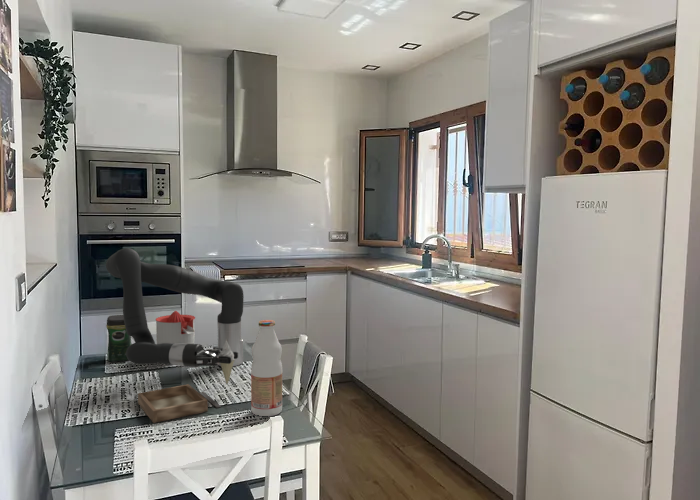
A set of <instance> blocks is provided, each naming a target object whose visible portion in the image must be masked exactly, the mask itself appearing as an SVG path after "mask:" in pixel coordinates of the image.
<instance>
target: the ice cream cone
mask: <svg viewBox="0 0 700 500" xmlns="http://www.w3.org/2000/svg"><path fill="white" fill-rule="evenodd" d="M220 356H230V357H231V358H232V362H231V363H230V364H226V363H220V364H221V366H220V367H221V370H222V374H223V376H224V377H223V378H224V381H225V385H228V384H229V382H230V378H231V375H232V374H231V373H232V370H233V368H234V366H233V363H234V360H235V359H234V354H233V352H232V351H231V350H230V346H229V345H228V342H227V340H226V341H225V344H224V346H223V349H222V352H221V353H220Z"/></svg>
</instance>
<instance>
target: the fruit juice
mask: <svg viewBox="0 0 700 500" xmlns="http://www.w3.org/2000/svg"><path fill="white" fill-rule="evenodd" d="M258 327H259V331H258V332H257V335H256V339H255V341H254V343H253V345H252V347H251V356H252V363H251V367H250V368H251V369H250V370H251V371H250V378H251V379H250V380H251V381H250V387H251V388H250V389H251V391H250V393H251V394H250V397H251V398H250V400H251V401H250V404H251V406H250V408H251V413H252V414H253V415H254V414H255V416H257V415H259V416H258V417H262V416H268V417H272V416H273V417H274V416H277V415H279V414H280V413H281V412H282V411H283V410H282V409H283V363H282V360H281V356H282V352H283V348H282V344H281V343H280V340H279V339H278V336H277V334H276V331H275V327H276V321H275V320H273V319H263V320H262V319H261V320H259V321H258Z"/></svg>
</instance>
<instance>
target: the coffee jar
mask: <svg viewBox="0 0 700 500" xmlns="http://www.w3.org/2000/svg"><path fill="white" fill-rule="evenodd" d="M105 327H106V330H107V334H108V335H107V337H108V342H107V355H106V356H107V357H106V358H107V361H108V362H110V363H111V362H112V363H116V362H117V361H120V362H126V361H129V360H128V359H127V356H126V351H127V349H128V347H129V346H130V345H132V344H133V343H132V336H129V335H128V334H127V332H126V328H125V323H124V317H123V314H115V315H109V316H107V319H106V326H105Z"/></svg>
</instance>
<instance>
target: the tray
mask: <svg viewBox="0 0 700 500" xmlns="http://www.w3.org/2000/svg"><path fill="white" fill-rule="evenodd" d="M209 403H210V404H211V405H212V406H213V407H215V409H219V408H222V405H220V404H219V403H218V401H215V400H214V399H213V398H212V397H211V396H210V395H208V394H207V393H206V392H204V391H200V392H198V391H197V390H196V389H195V388H194V387H192V386H191V385H190V383H189V384H188V383H187V384H182V385H177V386H171V387H165V388H159V389H155V390H149V391H143V392H138V393H137V404H138V405H140V406H139V408H141V409H142V410H143V412H144V413H145V414H146V416H147V417H148V419H150V421H151V422H152V423H153V424H155V423H160V422H165V421H169V420H174V419H179V418H183V417H188V416H192V415H197V414H202V413H207V412H208V410H209V409H208V407H209Z"/></svg>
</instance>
